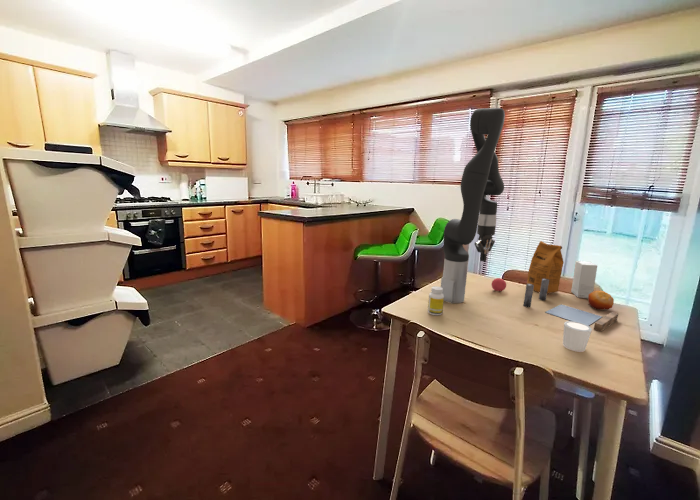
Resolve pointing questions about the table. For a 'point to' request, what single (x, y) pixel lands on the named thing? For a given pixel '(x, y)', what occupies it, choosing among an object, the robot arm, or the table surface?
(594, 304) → the fruit
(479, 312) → the table surface
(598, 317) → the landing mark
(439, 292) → the supplement bottle
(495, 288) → the ball
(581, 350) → the white cup
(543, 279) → the far post
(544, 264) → the coffee package
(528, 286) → the near post
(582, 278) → the skincare box
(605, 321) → the wall
